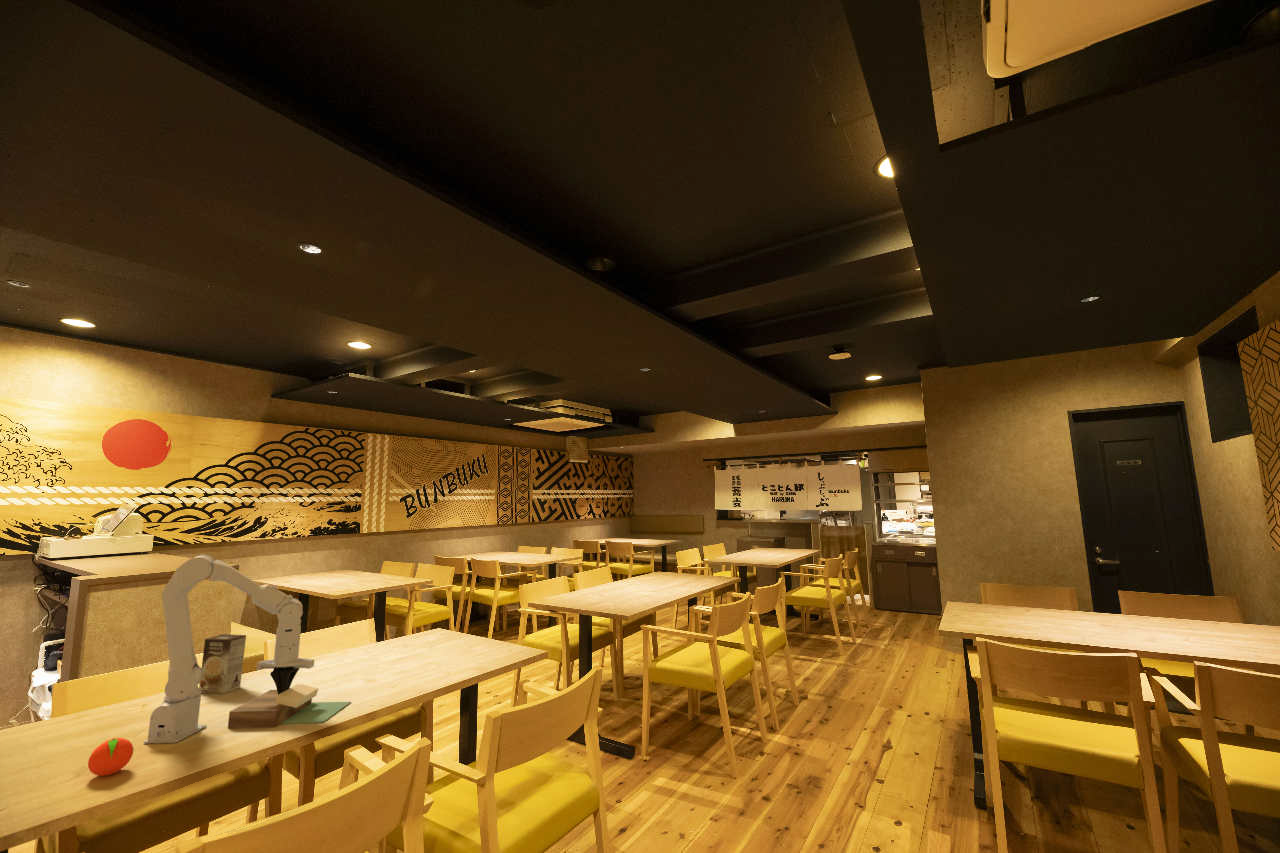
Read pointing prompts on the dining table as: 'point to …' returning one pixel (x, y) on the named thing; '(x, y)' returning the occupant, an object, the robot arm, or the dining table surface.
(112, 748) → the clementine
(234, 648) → the coffee box
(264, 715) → the brown wooden block
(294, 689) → the tile
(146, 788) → the dining table surface
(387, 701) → the dining table surface
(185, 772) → the dining table surface
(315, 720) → the mat
